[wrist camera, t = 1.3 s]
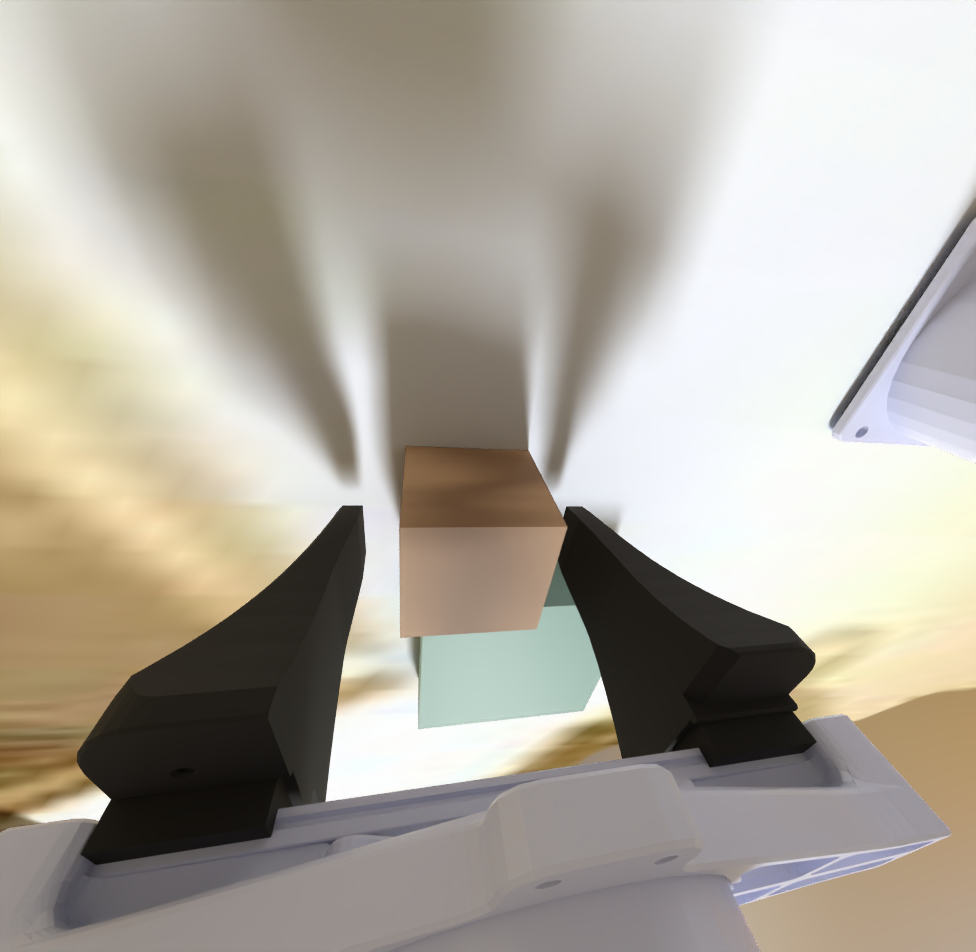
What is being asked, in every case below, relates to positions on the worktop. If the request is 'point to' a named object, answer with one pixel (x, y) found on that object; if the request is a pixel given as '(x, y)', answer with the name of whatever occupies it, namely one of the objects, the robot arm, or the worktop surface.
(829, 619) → the worktop surface
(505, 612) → the walnut cube
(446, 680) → the base block
